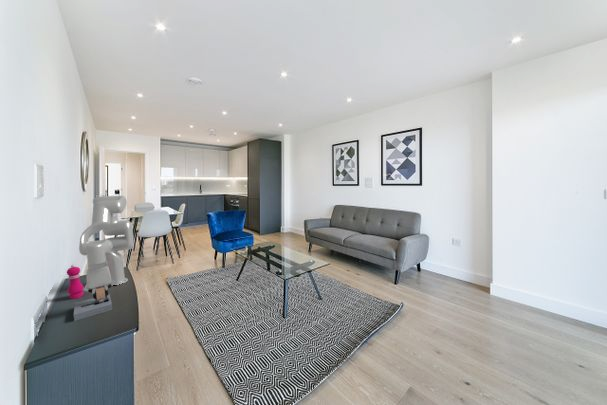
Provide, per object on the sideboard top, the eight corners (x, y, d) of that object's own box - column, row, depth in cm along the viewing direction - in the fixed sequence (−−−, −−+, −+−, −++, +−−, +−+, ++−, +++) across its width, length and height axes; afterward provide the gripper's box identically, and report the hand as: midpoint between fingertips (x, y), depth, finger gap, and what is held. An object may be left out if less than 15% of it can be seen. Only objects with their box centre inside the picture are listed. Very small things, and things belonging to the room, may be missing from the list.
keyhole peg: (96, 306, 136) (94, 287, 135) (107, 303, 139) (105, 284, 138) (96, 309, 132) (94, 289, 131) (107, 306, 135) (105, 287, 134)
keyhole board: (75, 308, 135) (74, 302, 134) (110, 299, 144) (109, 293, 144) (74, 321, 122) (73, 314, 122) (112, 309, 132) (111, 304, 131)
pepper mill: (66, 300, 145) (62, 267, 143) (71, 295, 151) (67, 264, 149) (82, 297, 148) (78, 265, 146) (86, 292, 154) (82, 261, 153)
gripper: (115, 260, 142) (119, 291, 143) (77, 268, 131) (81, 301, 133) (117, 263, 136) (120, 295, 138) (76, 271, 125) (80, 306, 127)
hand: (101, 298), depth 135 cm, fingers closed on keyhole peg, 3 cm apart
